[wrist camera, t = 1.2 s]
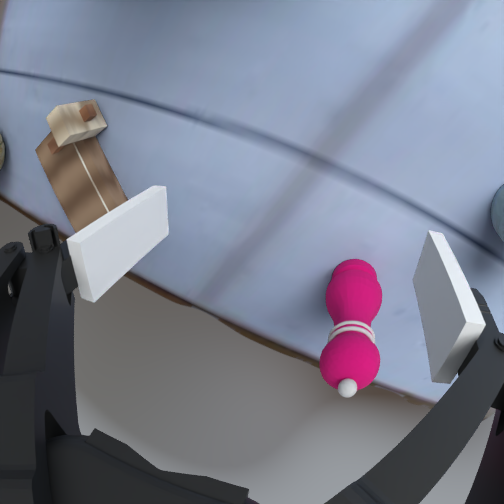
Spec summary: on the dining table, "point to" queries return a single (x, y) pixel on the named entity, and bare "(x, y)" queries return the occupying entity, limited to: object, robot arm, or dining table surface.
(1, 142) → the cantaloupe
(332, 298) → the pepper mill
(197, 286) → the dining table surface
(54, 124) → the marking gauge
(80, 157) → the walnut board
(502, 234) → the green ceramic cup
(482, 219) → the dining table surface
